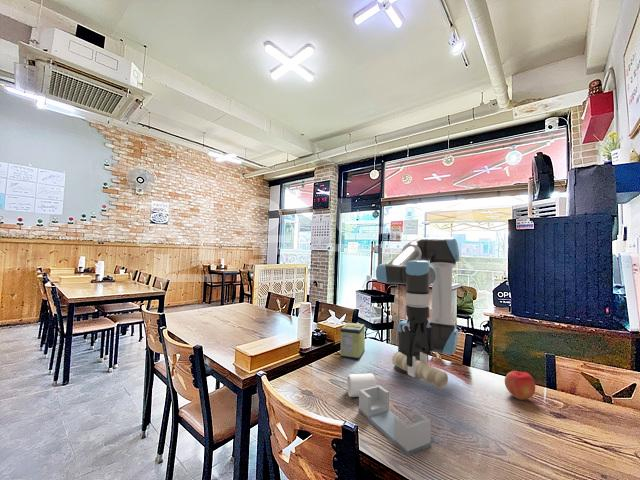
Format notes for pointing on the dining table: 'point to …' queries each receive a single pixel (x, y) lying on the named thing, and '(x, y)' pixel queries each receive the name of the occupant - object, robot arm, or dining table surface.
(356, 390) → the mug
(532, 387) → the apple
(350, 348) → the protein box
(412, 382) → the dining table surface
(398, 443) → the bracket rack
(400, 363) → the beige beaded rod
